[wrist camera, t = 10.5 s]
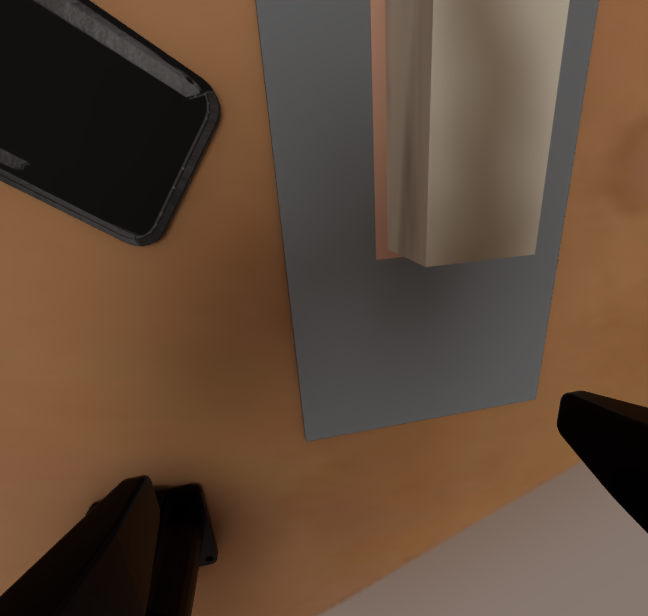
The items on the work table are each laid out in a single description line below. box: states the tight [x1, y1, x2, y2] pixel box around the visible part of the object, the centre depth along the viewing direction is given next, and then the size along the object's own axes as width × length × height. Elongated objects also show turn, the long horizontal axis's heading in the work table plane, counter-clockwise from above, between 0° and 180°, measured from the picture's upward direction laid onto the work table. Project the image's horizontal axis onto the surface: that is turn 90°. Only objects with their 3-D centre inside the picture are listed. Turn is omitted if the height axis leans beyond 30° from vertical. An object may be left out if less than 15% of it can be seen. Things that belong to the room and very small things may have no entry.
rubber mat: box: [256, 0, 599, 442], centre depth 19 cm, size 24×16×1 cm, turn 5°
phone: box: [0, 0, 220, 246], centre depth 13 cm, size 8×1×15 cm
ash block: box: [385, 0, 570, 267], centre depth 15 cm, size 5×11×4 cm, turn 4°
